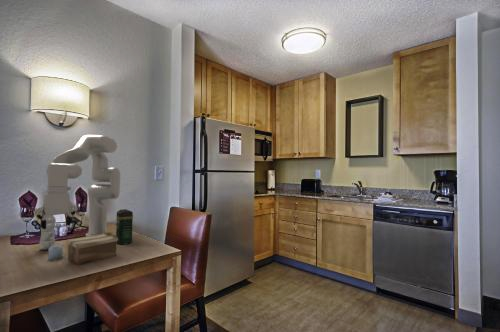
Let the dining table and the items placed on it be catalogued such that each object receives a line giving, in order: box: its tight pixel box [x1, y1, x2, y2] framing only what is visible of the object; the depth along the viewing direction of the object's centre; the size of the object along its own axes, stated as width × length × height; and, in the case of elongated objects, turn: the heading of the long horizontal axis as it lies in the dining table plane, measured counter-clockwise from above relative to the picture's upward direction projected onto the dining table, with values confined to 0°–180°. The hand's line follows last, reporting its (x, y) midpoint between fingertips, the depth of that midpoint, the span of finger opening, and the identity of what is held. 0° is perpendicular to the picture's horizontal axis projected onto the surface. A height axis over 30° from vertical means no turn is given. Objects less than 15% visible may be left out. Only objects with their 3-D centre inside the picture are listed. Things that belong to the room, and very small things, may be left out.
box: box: [67, 241, 117, 266], centre depth 123 cm, size 12×16×7 cm
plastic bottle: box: [38, 215, 57, 251], centre depth 134 cm, size 6×7×20 cm
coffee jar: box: [115, 208, 134, 245], centre depth 149 cm, size 10×8×19 cm
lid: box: [66, 230, 118, 249], centre depth 123 cm, size 13×17×3 cm
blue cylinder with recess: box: [48, 245, 64, 261], centre depth 122 cm, size 5×5×5 cm
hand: (56, 227), depth 122 cm, fingers open, 9 cm apart
